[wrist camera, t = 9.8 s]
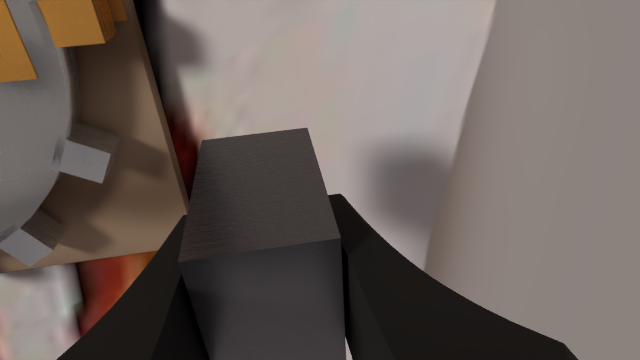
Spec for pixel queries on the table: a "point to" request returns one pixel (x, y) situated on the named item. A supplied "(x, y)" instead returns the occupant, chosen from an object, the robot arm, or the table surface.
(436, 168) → the table surface
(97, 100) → the base
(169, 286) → the robot arm
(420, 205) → the table surface
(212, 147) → the brushed metal cube
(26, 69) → the sprocket wheel
